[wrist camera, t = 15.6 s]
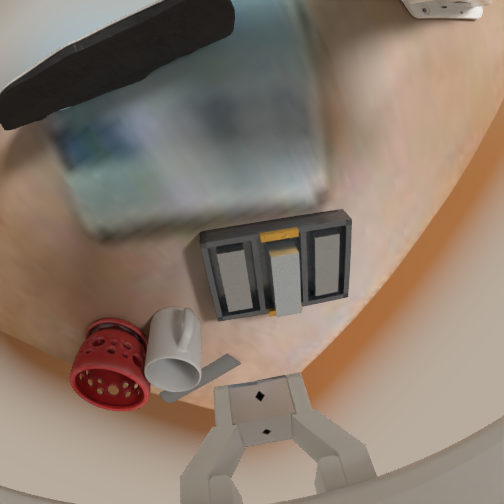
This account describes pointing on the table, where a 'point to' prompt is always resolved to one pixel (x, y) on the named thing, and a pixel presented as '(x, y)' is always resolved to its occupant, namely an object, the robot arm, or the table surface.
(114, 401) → the plant pot
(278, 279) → the grey rectangular block
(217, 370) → the half round rod
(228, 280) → the rack
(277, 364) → the table surface
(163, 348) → the mug
